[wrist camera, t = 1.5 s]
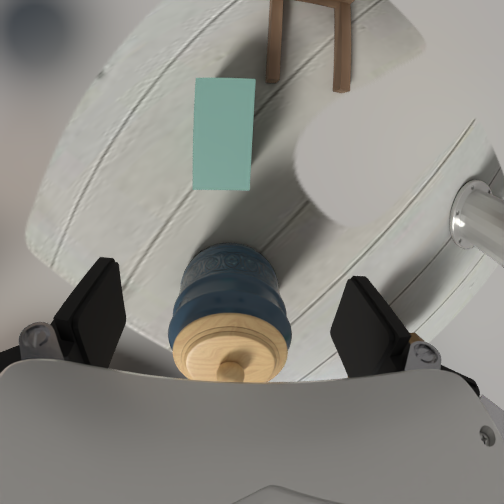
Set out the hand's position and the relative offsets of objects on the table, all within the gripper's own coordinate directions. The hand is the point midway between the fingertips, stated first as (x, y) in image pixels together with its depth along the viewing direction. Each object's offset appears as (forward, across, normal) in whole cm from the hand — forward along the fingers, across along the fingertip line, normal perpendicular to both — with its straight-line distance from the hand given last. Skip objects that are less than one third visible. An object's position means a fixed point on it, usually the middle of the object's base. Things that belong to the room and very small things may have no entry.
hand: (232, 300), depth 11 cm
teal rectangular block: (+24, +1, -6) cm, 25 cm away
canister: (+24, -1, +14) cm, 28 cm away
